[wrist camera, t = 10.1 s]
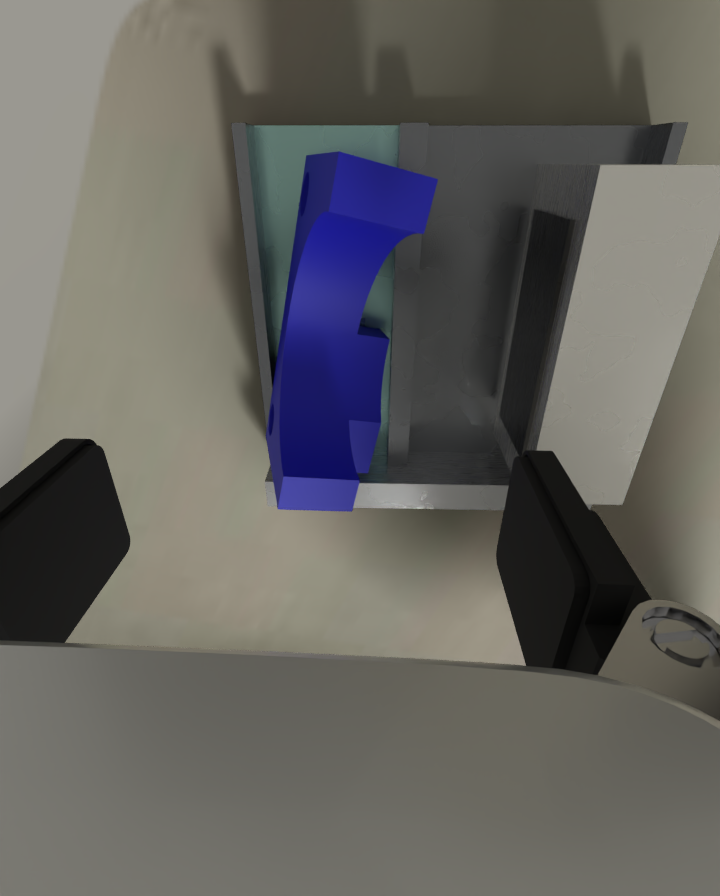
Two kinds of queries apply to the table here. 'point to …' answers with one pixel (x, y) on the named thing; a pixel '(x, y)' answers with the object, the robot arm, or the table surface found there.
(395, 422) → the grey holder tray
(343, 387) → the blue curved block
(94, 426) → the table surface
